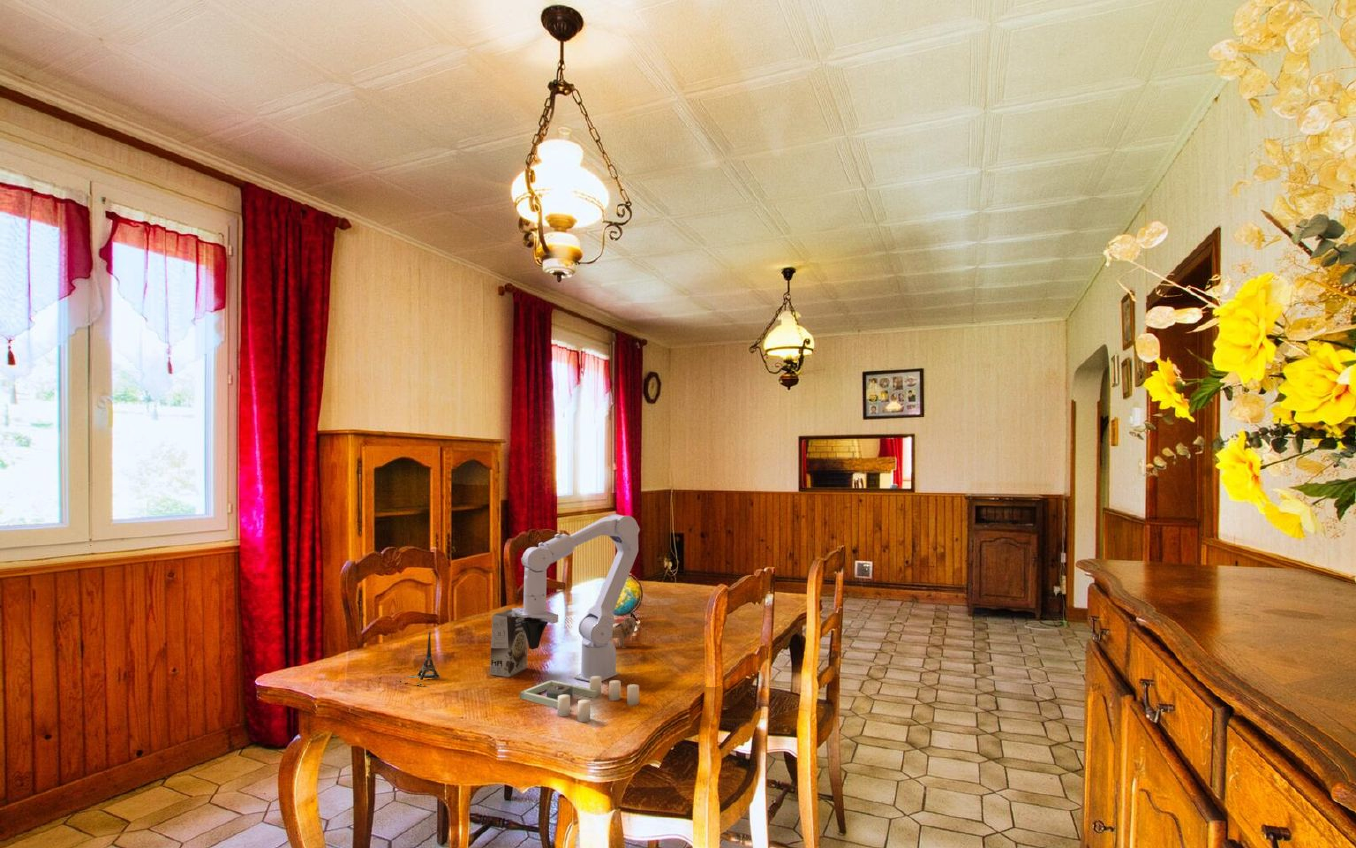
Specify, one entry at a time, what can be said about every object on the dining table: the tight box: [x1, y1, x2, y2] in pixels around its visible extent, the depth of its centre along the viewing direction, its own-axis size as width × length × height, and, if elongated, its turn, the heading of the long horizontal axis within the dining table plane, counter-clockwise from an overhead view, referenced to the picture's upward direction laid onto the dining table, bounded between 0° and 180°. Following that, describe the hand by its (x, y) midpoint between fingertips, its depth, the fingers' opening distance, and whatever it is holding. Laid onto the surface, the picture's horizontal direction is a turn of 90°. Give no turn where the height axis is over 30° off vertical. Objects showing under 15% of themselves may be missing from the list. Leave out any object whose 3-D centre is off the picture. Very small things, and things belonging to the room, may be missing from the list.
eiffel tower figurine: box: [406, 631, 441, 687], centre depth 177 cm, size 15×10×13 cm
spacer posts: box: [557, 676, 640, 723], centre depth 154 cm, size 17×14×4 cm
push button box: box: [546, 684, 574, 700], centre depth 160 cm, size 4×4×3 cm
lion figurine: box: [611, 616, 636, 649], centre depth 207 cm, size 15×5×9 cm, turn 106°
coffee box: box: [489, 608, 528, 678], centre depth 182 cm, size 9×6×16 cm
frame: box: [519, 679, 598, 709], centre depth 161 cm, size 11×15×2 cm
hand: (533, 648), depth 169 cm, fingers closed
